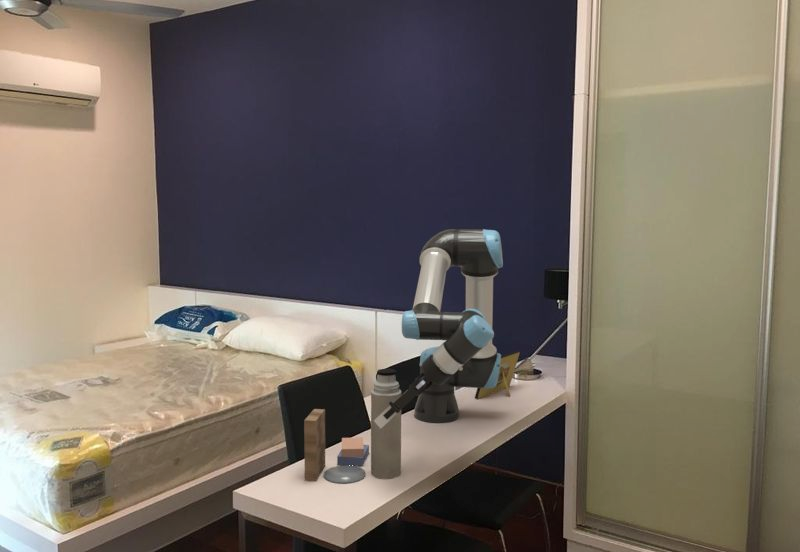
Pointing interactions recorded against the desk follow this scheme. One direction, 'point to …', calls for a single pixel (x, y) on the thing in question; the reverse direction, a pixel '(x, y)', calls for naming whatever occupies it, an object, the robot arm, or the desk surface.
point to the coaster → (344, 474)
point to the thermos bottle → (385, 427)
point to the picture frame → (501, 375)
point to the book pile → (352, 452)
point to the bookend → (314, 444)
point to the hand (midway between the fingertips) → (385, 416)
